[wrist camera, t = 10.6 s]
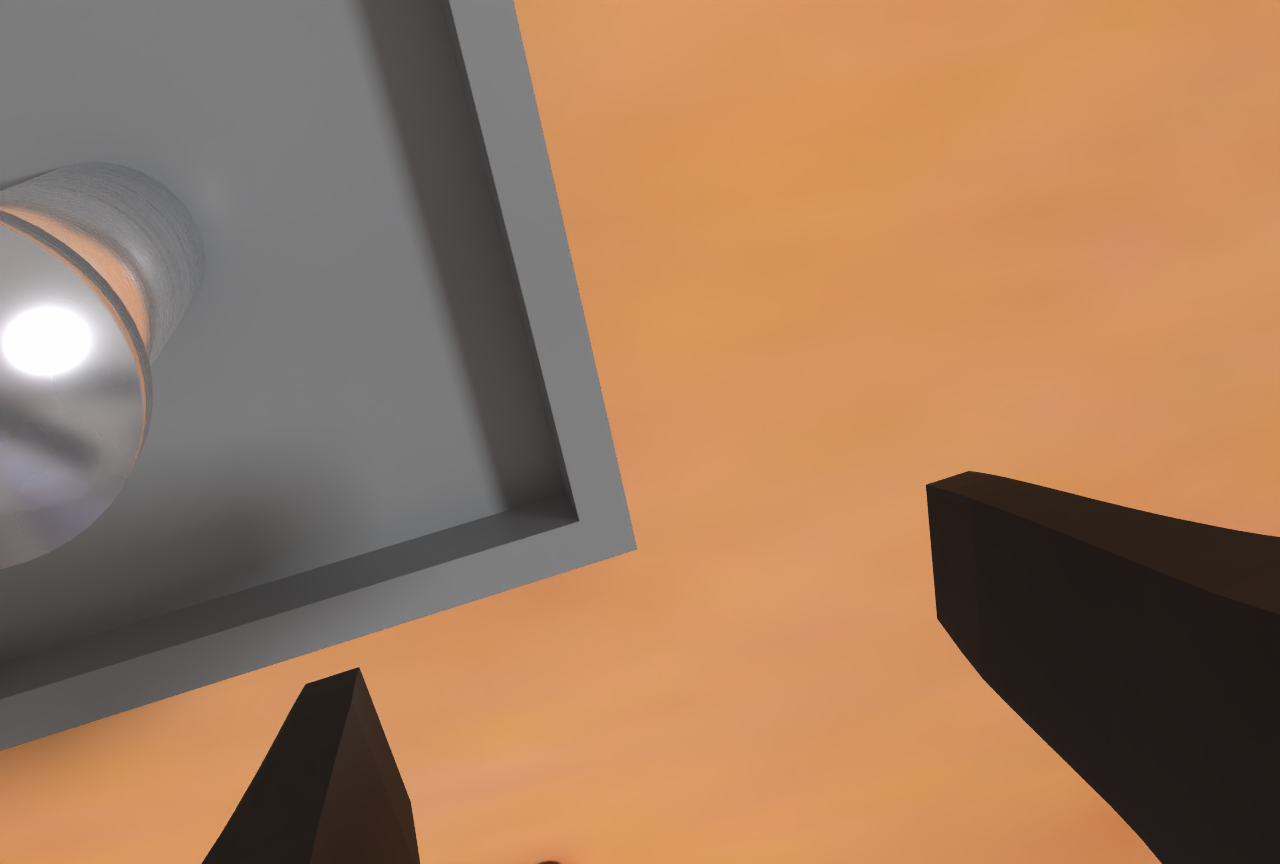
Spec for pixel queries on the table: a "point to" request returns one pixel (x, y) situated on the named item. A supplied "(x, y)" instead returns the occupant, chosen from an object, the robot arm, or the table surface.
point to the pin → (82, 340)
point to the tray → (311, 340)
